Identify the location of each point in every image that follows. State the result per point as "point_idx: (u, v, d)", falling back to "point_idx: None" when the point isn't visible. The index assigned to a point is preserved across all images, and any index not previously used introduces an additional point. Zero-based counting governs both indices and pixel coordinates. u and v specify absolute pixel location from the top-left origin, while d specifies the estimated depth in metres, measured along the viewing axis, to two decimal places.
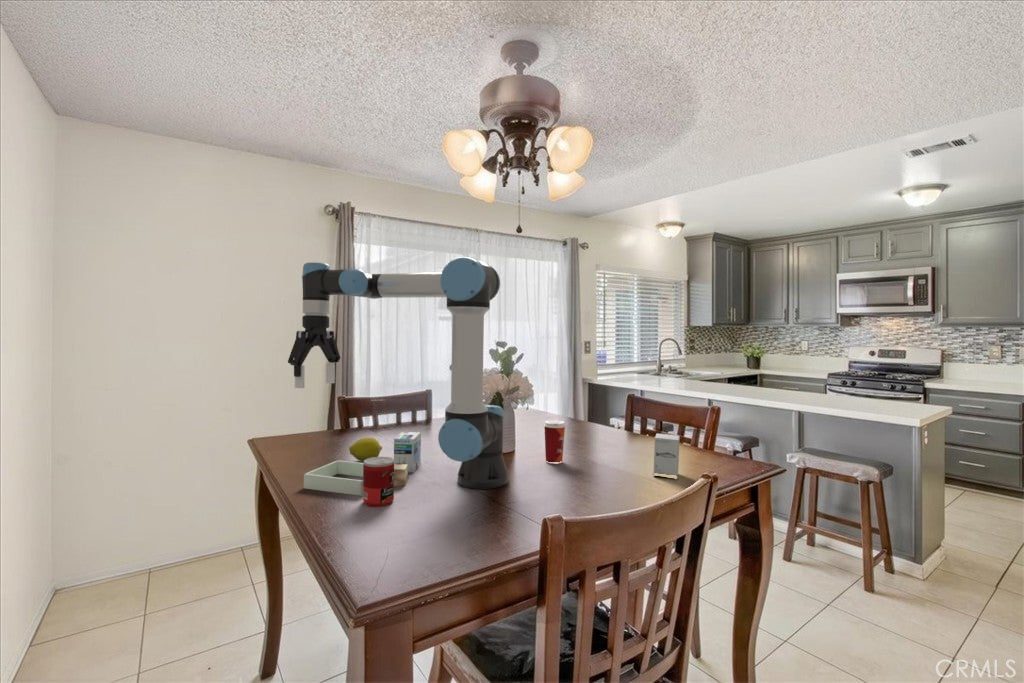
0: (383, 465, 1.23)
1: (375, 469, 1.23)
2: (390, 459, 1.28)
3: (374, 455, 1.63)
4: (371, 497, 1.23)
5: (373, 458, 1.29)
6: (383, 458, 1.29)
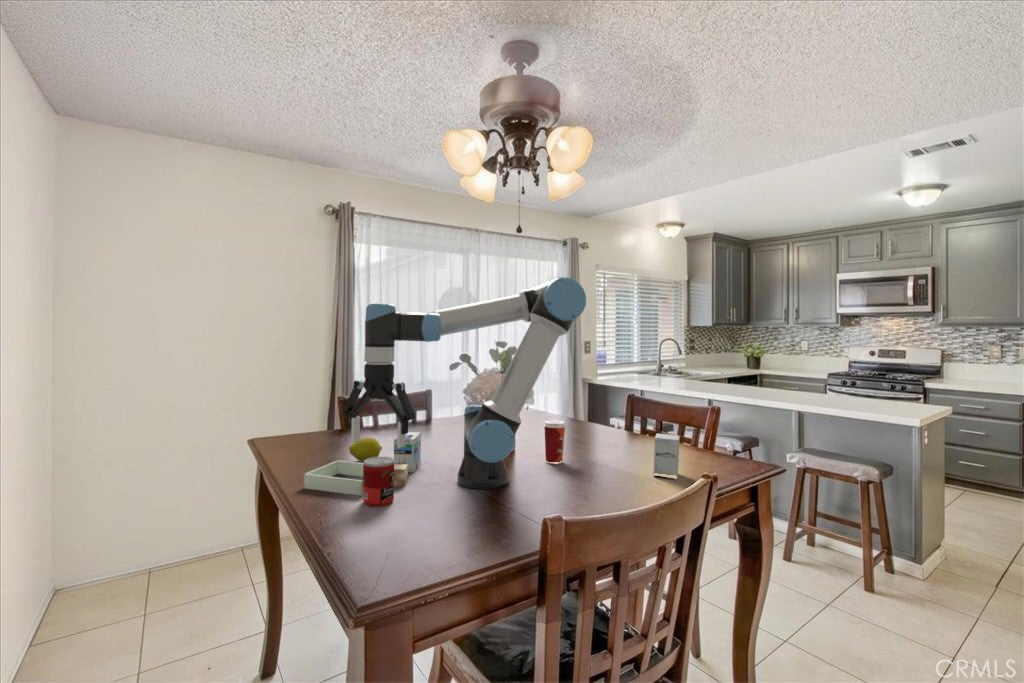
0: (383, 465, 1.23)
1: (375, 469, 1.23)
2: (390, 459, 1.28)
3: (374, 455, 1.63)
4: (371, 497, 1.23)
5: (373, 458, 1.29)
6: (383, 458, 1.29)
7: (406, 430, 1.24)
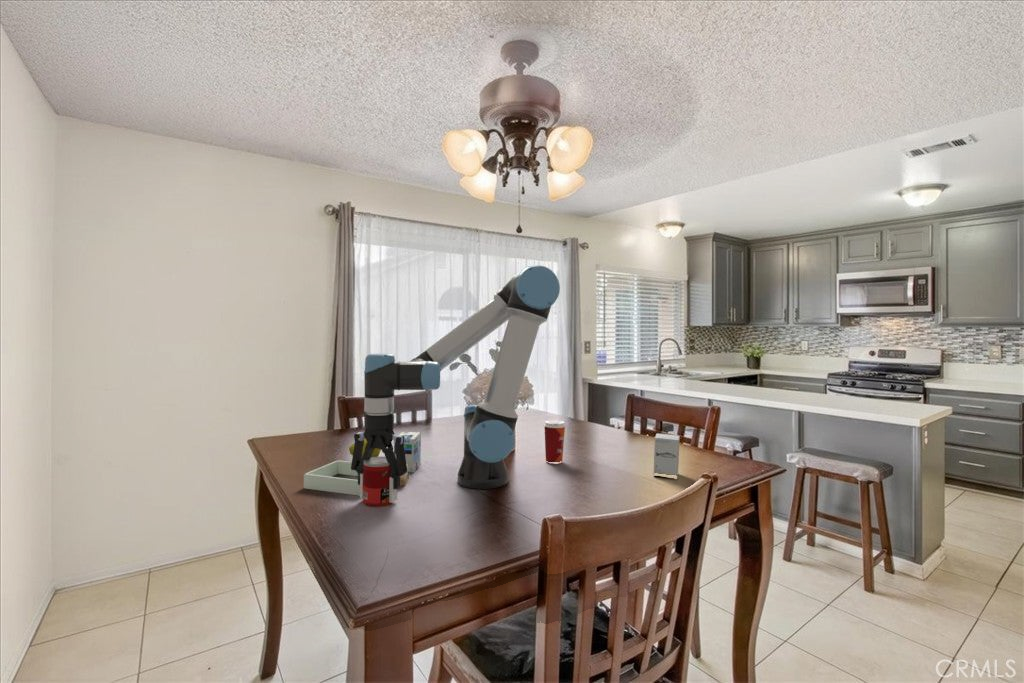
0: (383, 465, 1.23)
1: (375, 469, 1.23)
2: None
3: (374, 455, 1.63)
4: (371, 497, 1.23)
5: (373, 458, 1.29)
6: (383, 458, 1.29)
7: (398, 485, 1.25)
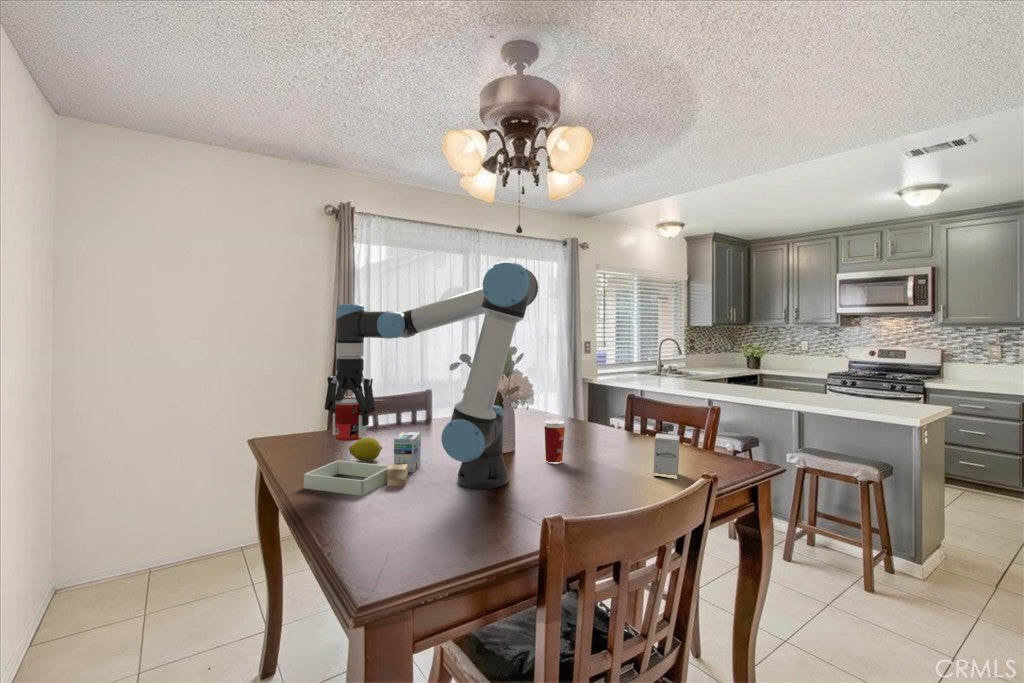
0: (352, 403, 1.37)
1: (345, 407, 1.36)
2: None
3: (374, 455, 1.63)
4: (342, 432, 1.37)
5: (345, 399, 1.43)
6: (354, 400, 1.43)
7: (366, 422, 1.39)
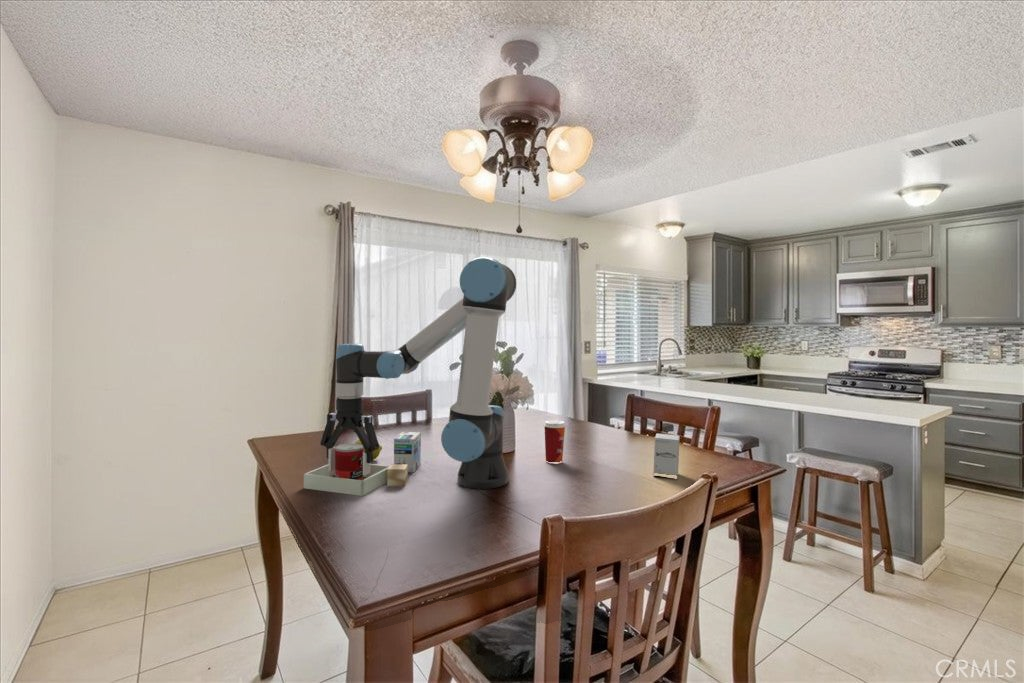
0: (352, 450, 1.37)
1: (345, 454, 1.37)
2: (360, 445, 1.42)
3: (374, 455, 1.63)
4: None
5: (345, 444, 1.43)
6: (354, 445, 1.44)
7: (371, 459, 1.39)
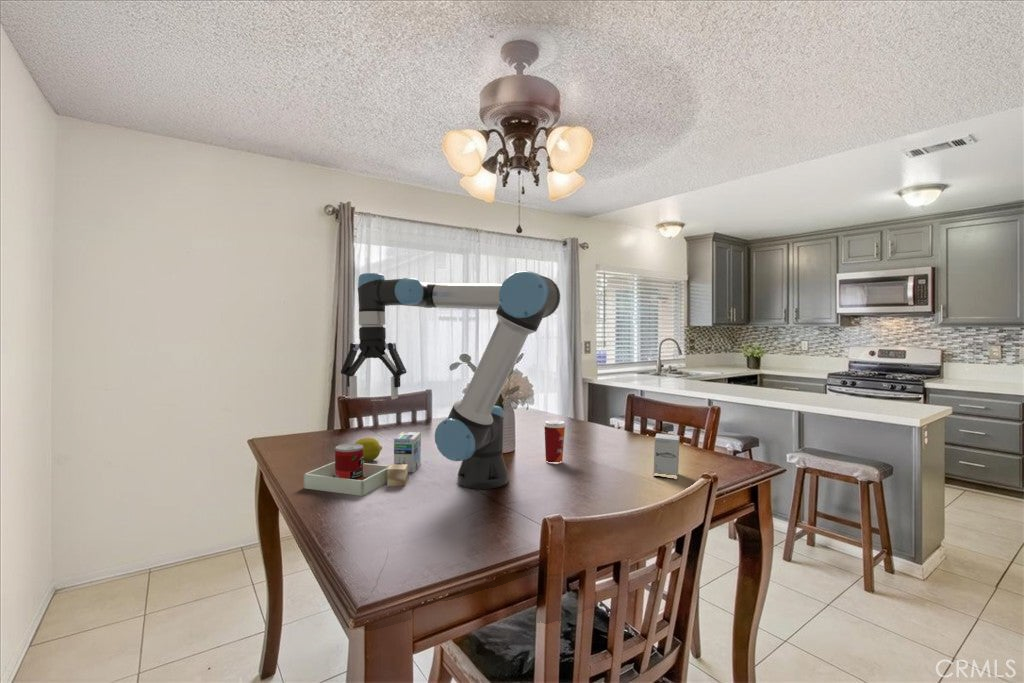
0: (352, 450, 1.37)
1: (345, 454, 1.37)
2: (360, 445, 1.42)
3: (374, 455, 1.63)
4: None
5: (345, 444, 1.43)
6: (354, 445, 1.43)
7: (398, 384, 1.40)
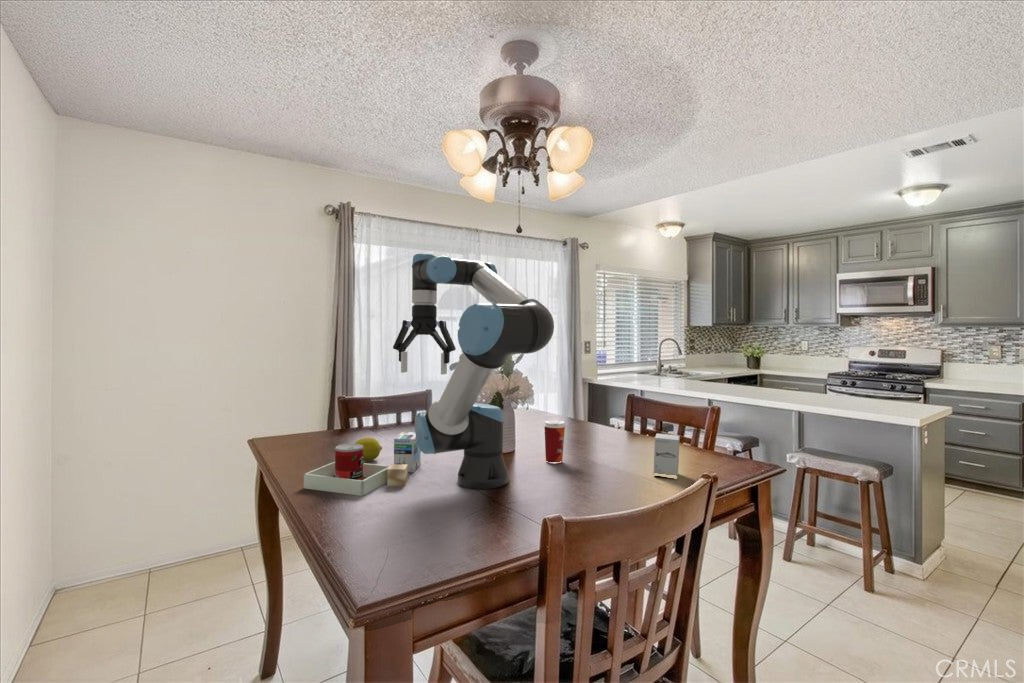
0: (352, 450, 1.37)
1: (345, 454, 1.37)
2: (360, 445, 1.42)
3: (374, 455, 1.63)
4: None
5: (345, 444, 1.43)
6: (354, 445, 1.43)
7: (448, 360, 1.47)
